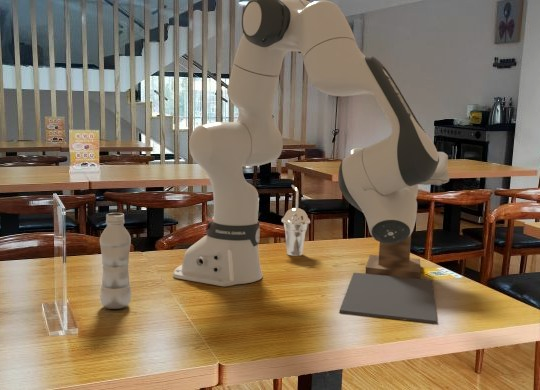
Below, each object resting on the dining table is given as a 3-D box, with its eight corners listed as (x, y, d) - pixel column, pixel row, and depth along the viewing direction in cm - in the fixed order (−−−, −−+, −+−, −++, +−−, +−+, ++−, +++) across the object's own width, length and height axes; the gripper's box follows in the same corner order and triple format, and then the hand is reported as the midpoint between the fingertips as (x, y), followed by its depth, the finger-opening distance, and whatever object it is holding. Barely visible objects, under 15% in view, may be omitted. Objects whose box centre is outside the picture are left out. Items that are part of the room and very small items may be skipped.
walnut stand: (365, 274, 155) (371, 176, 151) (369, 261, 168) (374, 171, 164) (420, 280, 151) (427, 180, 147) (419, 266, 165) (426, 174, 161)
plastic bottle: (100, 313, 121) (98, 217, 117) (100, 302, 127) (99, 211, 124) (132, 311, 122) (131, 217, 119) (130, 301, 129) (130, 211, 126)
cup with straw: (277, 256, 171) (279, 188, 168) (283, 249, 179) (286, 184, 176) (306, 258, 169) (309, 189, 166) (311, 251, 178) (314, 185, 175)
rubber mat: (339, 312, 126) (339, 310, 125) (353, 274, 154) (353, 272, 154) (436, 323, 121) (436, 320, 121) (432, 282, 150) (432, 280, 150)
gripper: (451, 172, 114) (450, 133, 125) (345, 166, 119) (353, 129, 129) (448, 197, 118) (447, 158, 129) (346, 190, 123) (353, 153, 133)
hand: (399, 144), depth 129 cm, fingers closed on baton, 3 cm apart
